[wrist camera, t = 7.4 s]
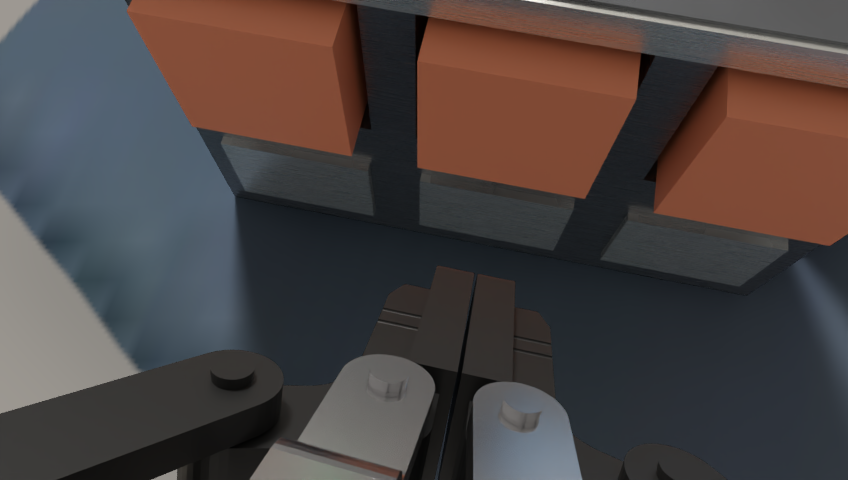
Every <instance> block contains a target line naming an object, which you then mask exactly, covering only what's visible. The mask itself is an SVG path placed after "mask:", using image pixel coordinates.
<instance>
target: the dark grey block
mask: <svg viewBox="0 0 848 480" xmlns="http://www.w3.org/2000/svg"><path fill="white" fill-rule="evenodd" d="M125 1H126V3H127V5H128V6H129V5H130V3H131V1H132V0H125ZM334 1H340V2H346V3H352V4H357V11H358V19H359V28H360V36H361V45H362V53H363V62H364V70H365V79H366V87H367V96H368V101H367V105H366V108H365V112H364V115H363V119H362V122H361V126H360V129H359V133H358V136H357V140H356V143H355V147H354V150H353V154H352V156H347V155H342V154H337V153H331V152H326V151H321V150H315V149H310V148H305V147H299V146H294V145H289V144H283V143H278V142H273V141H267V140H262V139H257V138H251V137H246V136H241V135H235V134H230V133H225V132H219V131H214V130H209V129H203V128H198V127H196V128H197V130H198V131H199V133H200V135H201V137H202V138H203V140H204V142H205V144H206V146H207V147H208V149H209V151H210V153H211V155H212V156H213V158H214V160H215V162H216V163H217V165H218V167H219V169H220V171H221V172H222V174H223V176H224V178H225V180H226V181H227V183H228V185H229V187H230V188H231V190H232V192H233V194H234V196H237V197H242V198H247V199H252V200H258V201H263V202H268V203H273V204H278V205H283V206H288V207H294V208H299V209H304V210H309V211H314V212H319V213H324V214H330V215H335V216H340V217H345V218H350V219H355V220H360V221H366V222H371V223H376V224H381V225H386V226H391V227H396V228H402V229H407V230H412V231H417V232H422V233H427V234H433V235H438V236H443V237H448V238H453V239H458V240H463V241H469V242H474V243H479V244H484V245H489V246H494V247H499V248H505V249H510V250H515V251H520V252H525V253H530V254H535V255H541V256H546V257H551V258H556V259H561V260H566V261H571V262H577V263H582V264H587V265H592V266H597V267H602V268H607V269H613V270H618V271H623V272H628V273H633V274H638V275H643V276H649V277H654V278H659V279H664V280H669V281H674V282H680V283H685V284H690V285H695V286H700V287H705V288H710V289H716V290H721V291H726V292H731V293H736V294H741V295H746V296H747V295H748V294H750V293H751V292H753V291H754V290H756V289H757V288H759V287H760V286H761V285H763V284H764V283H766V282H767V281H769V280H770V279H772V278H773V277H775V276H776V275H777V274H779V273H780V272H782V271H783V270H785V269H786V268H788V267H789V266H791V265H792V264H793V263H795V262H796V261H798V260H799V259H801V258H802V257H804V256H805V255H807V254H808V253H809V252H811V251H812V250H814V249H815V248H817V247H818V246H820V245H821V244H817V243H811V242H806V241H801V240H795V239H790V238H785V237H779V236H774V235H769V234H763V233H758V232H753V231H747V230H742V229H737V228H731V227H726V226H721V225H715V224H710V223H705V222H699V221H694V220H689V219H683V218H678V217H673V216H667V215H662V214H657V213H653V212H654V200H655V188H656V176H657V163H658V157H659V155H660V154H661V152H662V151H663V149H664V147H665V146H666V144H667V143H668V141H669V140H670V138H671V137H672V135H673V134H674V132H675V131H676V129H677V128H678V126H679V125H680V123H681V122H682V120H683V119H684V117H685V116H686V114H687V113H688V111H689V110H690V108H691V107H692V105H693V104H694V102H695V101H696V99H697V97H698V96H699V94H700V93H701V91H702V90H703V88H704V87H705V85H706V84H707V82H708V81H709V79H710V78H711V76H712V75H713V73H714V72H715V70H716V69H717V67H718V66H720V67H726V68H732V69H738V70H744V71H750V72H755V73H761V74H767V75H773V76H779V77H785V78H791V79H796V80H802V81H808V82H814V83H820V84H826V85H831V86H837V87H843V88H848V0H334ZM429 17H434V18H440V19H445V20H451V21H457V22H463V23H469V24H475V25H481V26H486V27H492V28H498V29H504V30H510V31H516V32H521V33H527V34H533V35H539V36H545V37H551V38H557V39H562V40H568V41H574V42H580V43H586V44H592V45H598V46H603V47H609V48H615V49H621V50H627V51H633V52H638V53H641V58H640V68H639V78H638V88H637V98H636V101H635V103H634V105H633V107H632V109H631V111H630V113H629V115H628V117H627V118H626V120H625V122H624V124H623V126H622V128H621V130H620V132H619V134H618V136H617V138H616V140H615V142H614V144H613V146H612V147H611V149H610V151H609V153H608V155H607V157H606V159H605V161H604V163H603V165H602V167H601V169H600V171H599V173H598V174H597V176H596V178H595V180H594V182H593V184H592V186H591V188H590V190H589V192H588V194H587V196H586V198H585V199H583V198H577V197H572V196H567V195H561V194H556V193H551V192H545V191H540V190H535V189H529V188H524V187H519V186H513V185H508V184H503V183H497V182H492V181H487V180H481V179H476V178H471V177H465V176H460V175H455V174H449V173H444V172H439V171H433V170H428V169H423V168H417V60H418V57H419V53H420V49H421V45H422V41H423V37H424V33H425V30H426V26H427V22H428V18H429Z"/></svg>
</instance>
